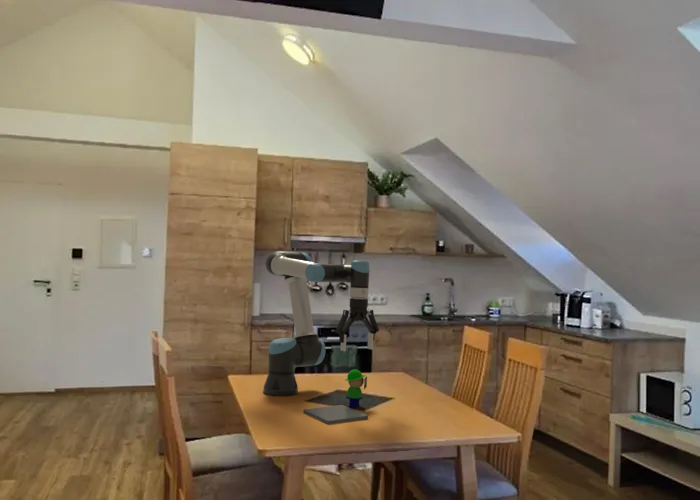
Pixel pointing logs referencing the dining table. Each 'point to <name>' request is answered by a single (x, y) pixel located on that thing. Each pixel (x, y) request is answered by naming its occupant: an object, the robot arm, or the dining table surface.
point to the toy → (355, 387)
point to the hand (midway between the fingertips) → (356, 349)
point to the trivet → (335, 414)
